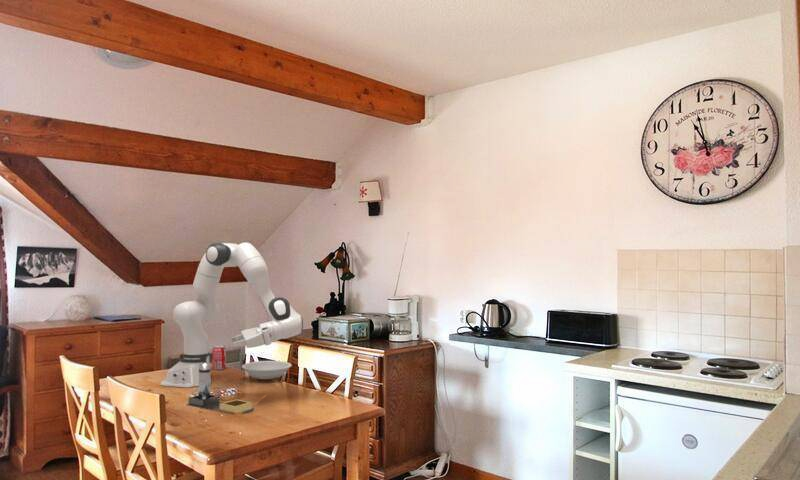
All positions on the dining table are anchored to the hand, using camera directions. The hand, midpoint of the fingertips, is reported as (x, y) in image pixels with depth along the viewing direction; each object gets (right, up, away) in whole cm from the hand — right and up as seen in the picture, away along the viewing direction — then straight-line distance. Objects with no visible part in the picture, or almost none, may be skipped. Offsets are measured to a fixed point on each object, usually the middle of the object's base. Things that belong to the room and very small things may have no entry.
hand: (232, 342), depth 235 cm
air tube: (-10, -23, -6) cm, 26 cm away
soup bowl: (+4, -26, +45) cm, 52 cm away
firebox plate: (-2, -24, -11) cm, 27 cm away
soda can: (-27, -27, +67) cm, 77 cm away
